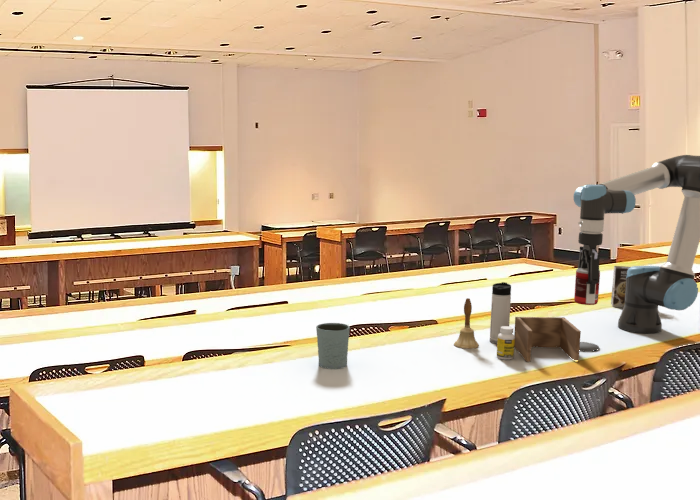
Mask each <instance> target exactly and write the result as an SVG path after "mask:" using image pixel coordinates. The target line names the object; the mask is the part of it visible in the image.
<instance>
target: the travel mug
mask: <svg viewBox="0 0 700 500" xmlns="http://www.w3.org/2000/svg"><path fill="white" fill-rule="evenodd" d="M491 292H492V293H491V304H490V305H491V307H490V326H489V327H490V328H489V342H490V343H492V344H496V345H497V341H498V334H500V333H501V332H500V329H501V327H502V326H509V327H510V321H511V320H510V319H511V318H510V315H511V303H512V302H511V299H512V298H511V296H512V285H511V284H509V283H508V282H504V281H502V282H498V283H493V284H492V290H491Z"/></svg>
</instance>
